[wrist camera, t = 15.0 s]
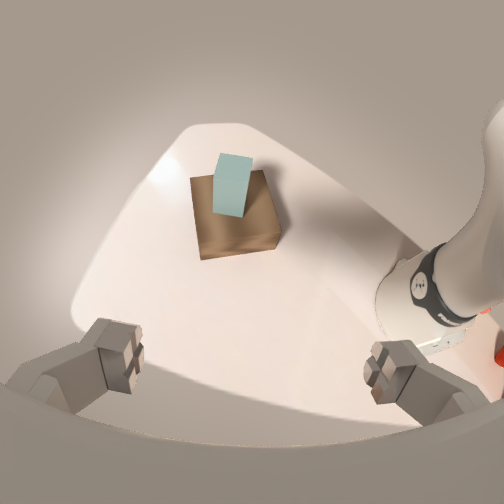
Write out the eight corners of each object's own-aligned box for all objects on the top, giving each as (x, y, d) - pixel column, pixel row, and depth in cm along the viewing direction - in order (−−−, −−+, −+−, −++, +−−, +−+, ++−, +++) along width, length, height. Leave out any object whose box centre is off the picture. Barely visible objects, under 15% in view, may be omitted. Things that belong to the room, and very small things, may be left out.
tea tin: (246, 194, 44) (252, 158, 37) (242, 217, 42) (248, 182, 35) (218, 189, 44) (220, 153, 37) (212, 212, 42) (213, 176, 35)
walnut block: (258, 191, 52) (262, 170, 47) (274, 250, 47) (281, 231, 42) (192, 199, 50) (190, 177, 44) (200, 261, 45) (198, 243, 39)
